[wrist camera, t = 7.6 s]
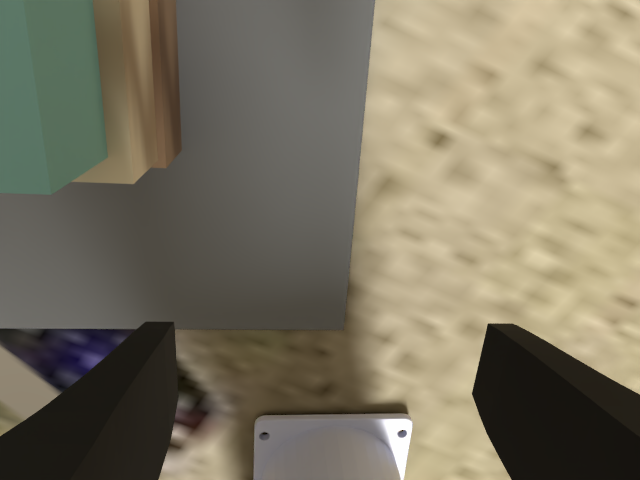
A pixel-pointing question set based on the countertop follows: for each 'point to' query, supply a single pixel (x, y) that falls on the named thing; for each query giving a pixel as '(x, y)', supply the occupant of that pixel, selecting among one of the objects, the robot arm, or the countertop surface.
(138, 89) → the tower mid
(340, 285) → the mat
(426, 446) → the countertop surface
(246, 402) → the countertop surface
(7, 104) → the teal block
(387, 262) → the countertop surface
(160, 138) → the tower base
